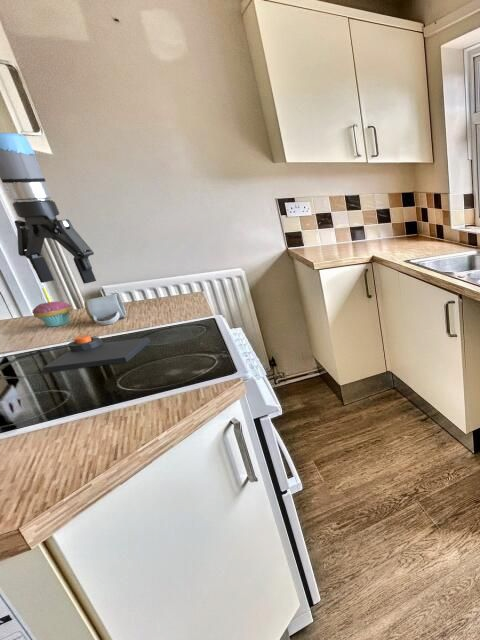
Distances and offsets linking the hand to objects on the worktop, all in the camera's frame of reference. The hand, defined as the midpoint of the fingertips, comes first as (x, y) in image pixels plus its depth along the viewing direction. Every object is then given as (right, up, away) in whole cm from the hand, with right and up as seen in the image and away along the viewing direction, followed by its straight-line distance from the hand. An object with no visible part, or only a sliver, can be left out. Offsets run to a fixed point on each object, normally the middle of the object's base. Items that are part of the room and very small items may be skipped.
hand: (68, 282), depth 115 cm
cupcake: (-20, -11, +16) cm, 28 cm away
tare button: (+10, -17, -5) cm, 20 cm away
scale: (+16, -20, -7) cm, 27 cm away
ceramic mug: (-6, -10, +19) cm, 22 cm away
